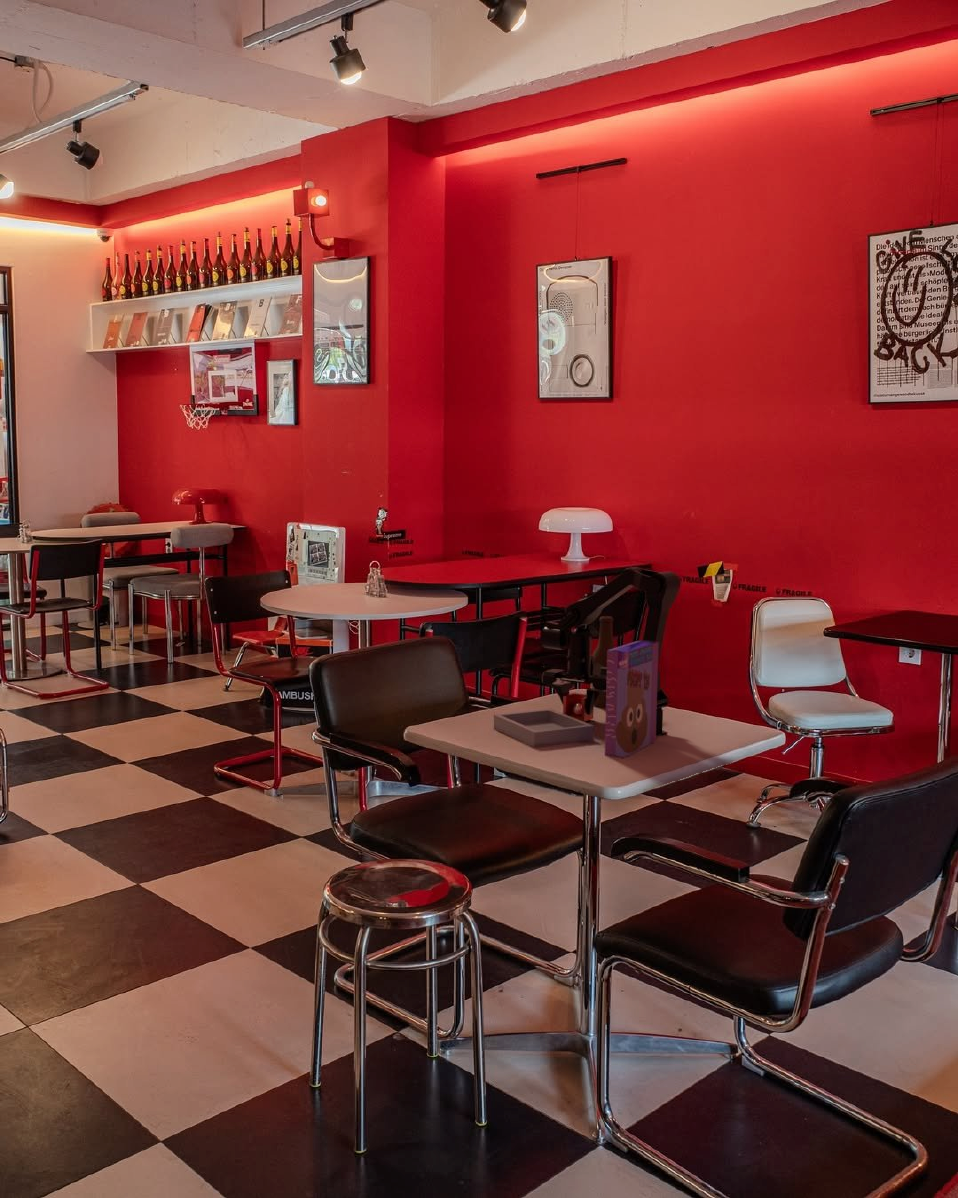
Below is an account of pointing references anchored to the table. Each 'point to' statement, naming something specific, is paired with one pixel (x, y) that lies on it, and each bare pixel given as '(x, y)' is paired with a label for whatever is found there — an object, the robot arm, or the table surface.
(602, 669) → the beer bottle
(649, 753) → the table surface
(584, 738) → the slate tray
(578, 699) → the red arch stool
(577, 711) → the steel ball
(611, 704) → the cereal box
